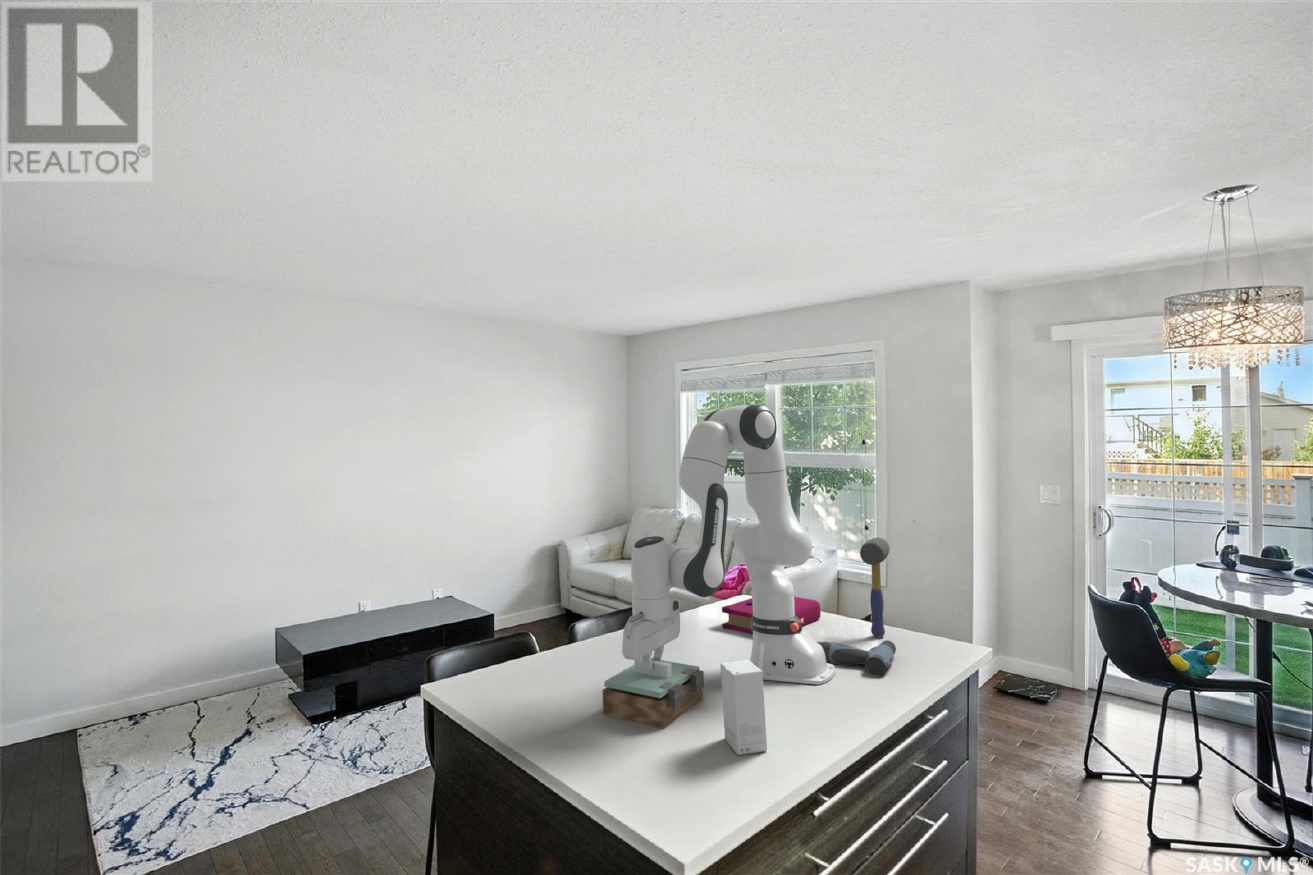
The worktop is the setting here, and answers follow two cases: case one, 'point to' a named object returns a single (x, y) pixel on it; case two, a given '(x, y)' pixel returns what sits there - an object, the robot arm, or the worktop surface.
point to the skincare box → (743, 707)
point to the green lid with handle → (651, 678)
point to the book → (744, 610)
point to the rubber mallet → (876, 580)
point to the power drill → (861, 656)
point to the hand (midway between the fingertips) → (653, 667)
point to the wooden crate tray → (654, 702)
